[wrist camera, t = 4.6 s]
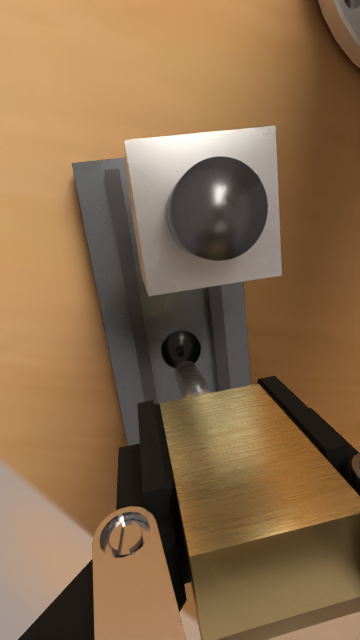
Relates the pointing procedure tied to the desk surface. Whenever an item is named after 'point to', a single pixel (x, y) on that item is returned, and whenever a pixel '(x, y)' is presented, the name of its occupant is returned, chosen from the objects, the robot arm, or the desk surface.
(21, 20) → the desk surface
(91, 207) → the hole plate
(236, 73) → the desk surface
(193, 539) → the tan square-headed peg
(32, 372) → the desk surface
